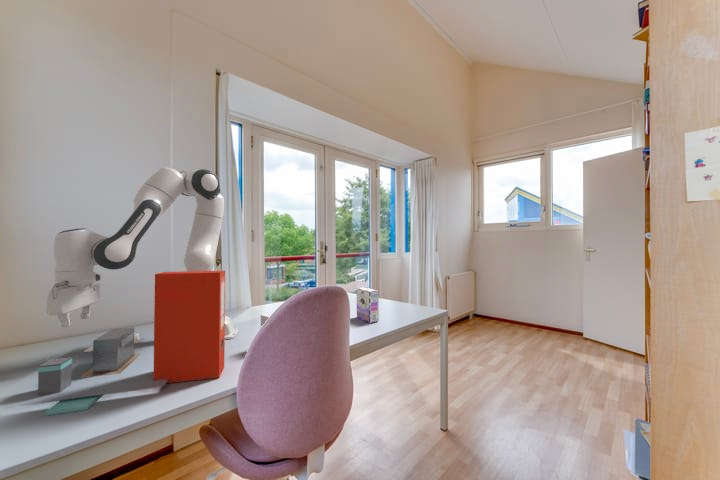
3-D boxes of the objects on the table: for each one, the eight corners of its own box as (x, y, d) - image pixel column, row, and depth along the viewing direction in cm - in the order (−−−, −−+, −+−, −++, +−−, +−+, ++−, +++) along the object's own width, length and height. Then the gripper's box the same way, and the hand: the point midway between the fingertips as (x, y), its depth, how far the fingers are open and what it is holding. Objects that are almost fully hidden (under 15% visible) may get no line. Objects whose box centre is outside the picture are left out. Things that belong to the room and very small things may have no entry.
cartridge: (71, 389, 79) (71, 357, 80) (60, 398, 75) (60, 363, 75) (50, 392, 78) (50, 359, 78) (37, 401, 74) (38, 366, 74)
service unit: (134, 356, 99) (135, 327, 99) (118, 370, 88) (118, 338, 88) (111, 358, 97) (111, 329, 97) (91, 373, 86) (92, 340, 86)
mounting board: (141, 357, 101) (141, 353, 101) (120, 378, 86) (120, 373, 86) (106, 361, 98) (106, 357, 98) (78, 383, 83) (78, 378, 83)
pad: (104, 393, 78) (104, 390, 78) (87, 409, 70) (87, 406, 70) (67, 398, 75) (67, 395, 75) (45, 415, 67) (45, 412, 67)
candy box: (379, 321, 148) (379, 290, 148) (369, 323, 145) (369, 291, 145) (365, 316, 160) (365, 286, 160) (356, 317, 157) (356, 287, 157)
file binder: (164, 373, 90) (165, 271, 90) (224, 367, 94) (225, 270, 94) (153, 385, 82) (154, 274, 82) (218, 378, 86) (219, 272, 86)
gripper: (66, 283, 82) (67, 331, 82) (103, 274, 101) (105, 313, 102) (37, 284, 80) (39, 333, 80) (81, 276, 99) (82, 315, 100)
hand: (76, 322), depth 91 cm, fingers open, 8 cm apart
